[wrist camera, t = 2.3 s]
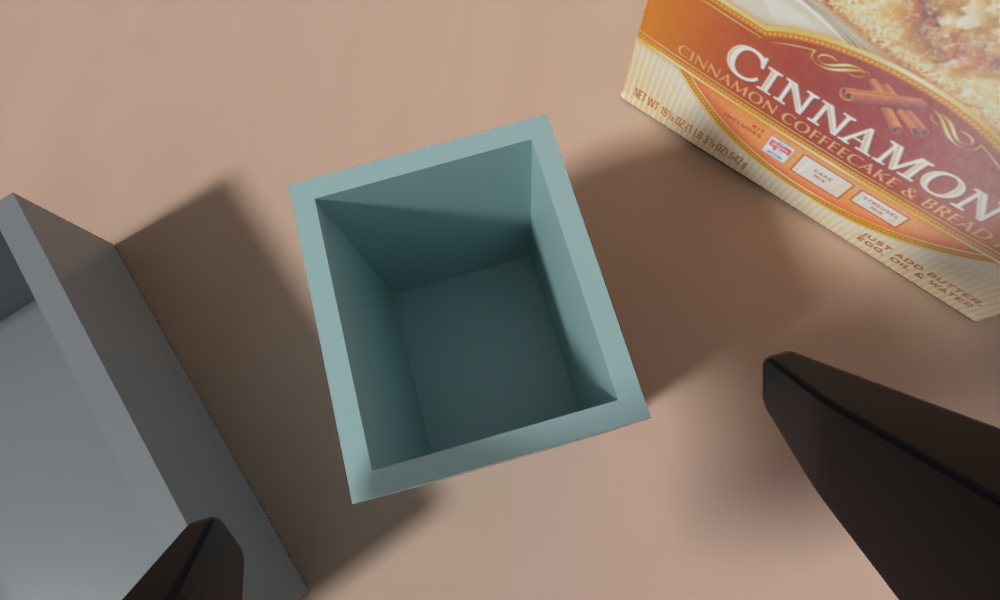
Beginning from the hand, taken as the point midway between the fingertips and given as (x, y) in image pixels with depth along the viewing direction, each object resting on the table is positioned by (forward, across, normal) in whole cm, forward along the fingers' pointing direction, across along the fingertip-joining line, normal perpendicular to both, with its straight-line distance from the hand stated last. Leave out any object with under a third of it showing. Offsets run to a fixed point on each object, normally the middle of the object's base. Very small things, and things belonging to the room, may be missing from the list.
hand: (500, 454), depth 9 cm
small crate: (+10, 0, +5) cm, 11 cm away
